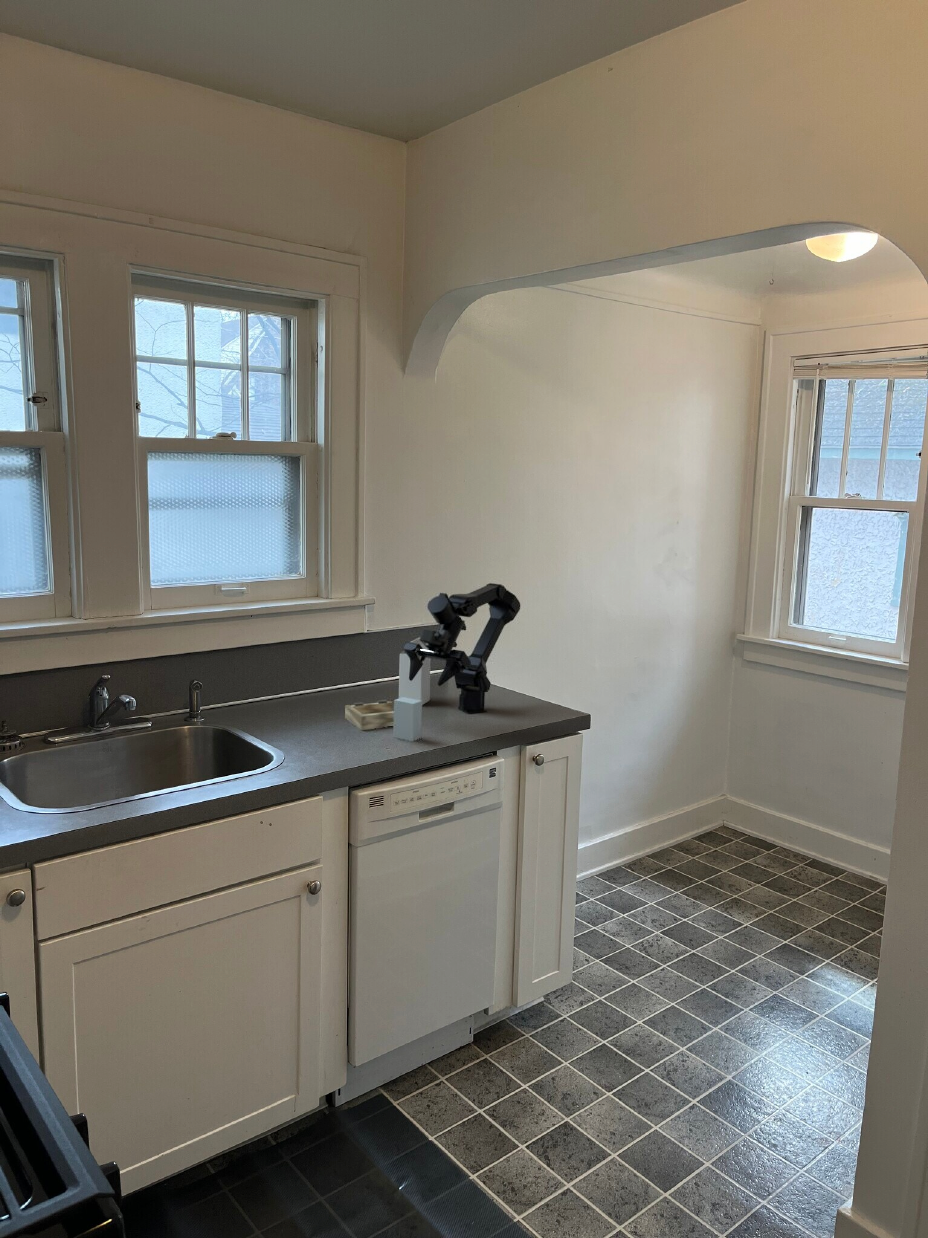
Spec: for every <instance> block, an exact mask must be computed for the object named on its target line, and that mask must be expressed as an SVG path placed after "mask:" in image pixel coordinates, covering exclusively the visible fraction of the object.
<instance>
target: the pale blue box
mask: <svg viewBox="0 0 928 1238" xmlns="http://www.w3.org/2000/svg"><path fill="white" fill-rule="evenodd" d="M393 710H394V726H393V727H392V728H393V729H392V730H393V734H392V735H393V736H392V737H396V738H395V739H397V738H400V739H399V740H402V739H405V740H404V741H407V740H410V741H409V742H411V741H413V742H415V741H417V739H418V740H420V739H421V738H422V722H423V721H422V717H423V716H422V715H423V714H422V713H423V705H422V701H421V700H416V699H411V698H406V697H401V698H399V697H398V698H396V699H394V700H393ZM419 738H420V739H419ZM414 740H415V741H414Z"/></svg>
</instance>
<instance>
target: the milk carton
mask: <svg viewBox="0 0 928 1238" xmlns="http://www.w3.org/2000/svg"><path fill="white" fill-rule="evenodd" d="M409 642H410V643H417V644H420V645H421V647H422V648H423V649H424V650H429V648H428V647H426V646H425V644H424V642H423V641H420V637H417V638H416V639H413V640H411V641H409ZM431 660H432V658H427V657H426V658H425V660H424V661H423V662H422V663H423V665H422V667H421V668H420V670H419V671H418V673H417V674H416V676H415V677H414V679H413V680H412V681H410V680H409V672H410V658H409V657H408V655H407V654H406V653H405V651H404V650H403V651H401V652H400V653H399V664H398V665H399V670H398V671H399V672H398V673H399V674H398V699H399V698H401V697H406V698H411V699H416V700H421V701H422V706H423V705H425V704H426V703H428V702H429V701H430V698H431V697H430V696H431V692H430V691H431V690H430V689H431Z"/></svg>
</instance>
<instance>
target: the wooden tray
mask: <svg viewBox="0 0 928 1238" xmlns="http://www.w3.org/2000/svg"><path fill="white" fill-rule="evenodd" d="M344 708H345V709H344V712H345V713H344V714H345V715H344V719H345V720H347V721H348V722H349V723H351V724H352V725H353V726H355V727H357V728H358V729H359V730H361V731H365V730H373V729H375V728H376V729H383V727H385V728H388V727H387V726H394V701H391V700H390V701H388V700H387V699H380V700H377V701H376V702H371V703H364V702H362V701H361V702H354V703H353V704H351V705H350V704H347V705H344ZM376 729H375V730H376Z"/></svg>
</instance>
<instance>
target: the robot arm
mask: <svg viewBox="0 0 928 1238" xmlns="http://www.w3.org/2000/svg"><path fill="white" fill-rule="evenodd" d="M486 604H487V605H488V606H489V608H488V610H489V616H490V617H489V619H488V621H487V622H486V624H485V626H484V628H483V630H482V632H481V635H480V637H479V638H478V640H477V642H476V644H475V646H474V648H473V650H472V652H471V654H470V655H467V653H466V652H465V651H464V650H460V649H453V648H457V646H458V643H457V639H458V637H459V636H460V633H461V631H467V626H466V623H465V619H464V620H463V619H462V617H463V618H464V617H465V618H472V617H473V616H474V615H475V614H476V613H477V612H478V608H479V607H482V606H484V605H486ZM426 608H427V610H428V611H429V613H430V614H431V616H432V618H433V619H434V621H435V622H436V623H437V624H439V626H438V629H437V630H432V629H425V628H423V629H422V630H421V634H420V636H419V638H420V641H421V642H422V643H425V644H424V645H425V646H426V647H427V648H428V649H429V650H424V649H423V648H422V647H421V645H420V644H417V643H410V642H411V641H409V642H406V643H405V645H404V647H403V649H402V650H403V651H405V653H406V654H407V655H408V657H409V658H410V672H409V680H410V681H412V680H413V679H414V677H415V676H416V674H417V673H418V671H419V670H420V668H421V667H422V665H423V663H422V662H423V661H424V660H425V658H426V657H427V658H431V659H435V660H441V661H445V666H444V667H443V670H442V672H441V675H440V676H439V679H438V681H437V686H439V687H441V686H443V685H444V684H445V683H447V682H448V681H449V680H451V678H453V677H454V682H455V686H456V689H458V690H459V689H460V694H459V698H458V699H459V700H458V702H459V703H458V706H457V709H458V710H460V711H462V712H465V713H467V714H475V713H484V712H488V709H487V708H485V701H486V700H485V699H486V698H485V696H486V693H488V692H489V691H490V690H491V689H490V688H491V685H492V683H491V681H490V679H489V677H488V676H487V674H488V670H487V662H488V660H489V657H490V656H491V654H492V652H493V650H494V648H495V647H496V644H497V642H498V639H499V638H500V635H501V634H502V632H503V629H504V628H505V626H506V625H507V624H509V623H510V622H512V621H514V620H515V618H516V617H517V615H518V613H519V612H520V610H521V602H520V601H519V599H518V598H517V596H516V595H515V594H514V593H512V592H510V590H509V589H507V588H506V587H505V586H504V585H502V584H501V583H499V584H498V583H492V582H491V583H487V584H485V586H481V587H480V588H477V589H475V590H473V591H471V592H468V593H455V594H451V595H450V596H449V595H448V594H447V593H446V592H445V593H444V592H440V593H439V595H438V596H434V597H433V598H432V599H431V600H429V601H428V603H427V607H426Z"/></svg>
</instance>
